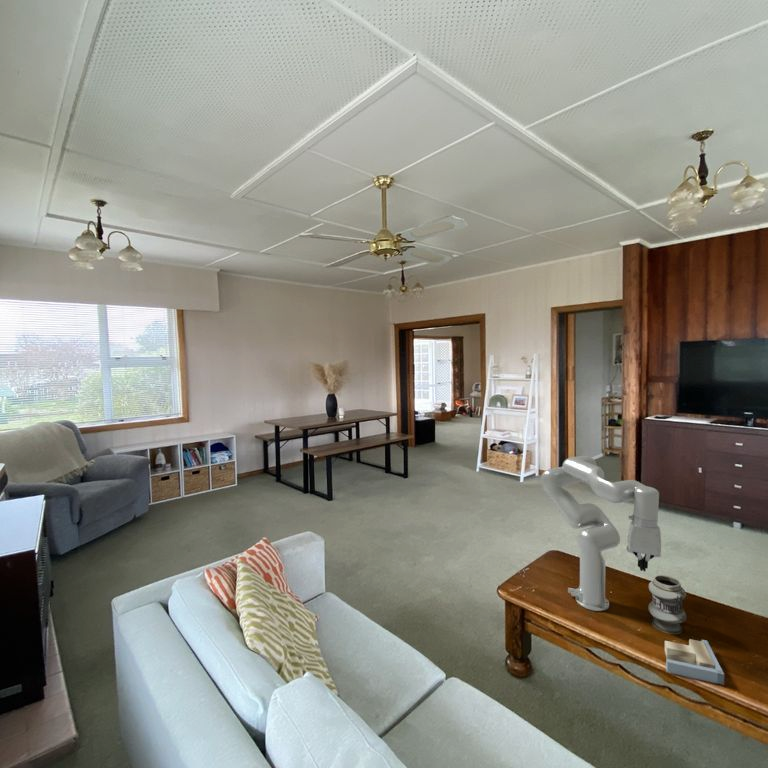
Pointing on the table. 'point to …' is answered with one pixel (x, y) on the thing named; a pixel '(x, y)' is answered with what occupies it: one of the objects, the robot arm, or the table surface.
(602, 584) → the robot arm
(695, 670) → the fence
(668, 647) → the t block
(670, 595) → the apothecary jar
